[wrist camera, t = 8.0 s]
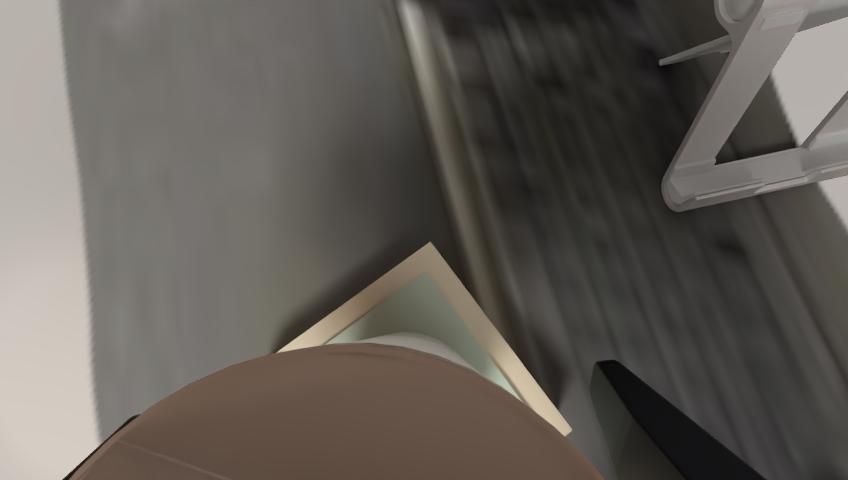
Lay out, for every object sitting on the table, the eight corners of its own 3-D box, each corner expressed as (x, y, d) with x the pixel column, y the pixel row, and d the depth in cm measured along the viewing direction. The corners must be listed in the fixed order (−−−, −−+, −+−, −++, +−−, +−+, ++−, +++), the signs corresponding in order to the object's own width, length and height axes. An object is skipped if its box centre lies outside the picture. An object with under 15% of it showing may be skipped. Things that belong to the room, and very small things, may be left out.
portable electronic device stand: (668, 217, 20) (842, 138, 11) (617, 70, 21) (737, -92, 13) (840, 179, 20) (1131, 76, 12) (777, 37, 21) (994, -141, 13)
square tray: (382, 561, 17) (375, 595, 14) (263, 371, 18) (241, 376, 16) (556, 418, 18) (574, 431, 16) (430, 250, 19) (430, 240, 17)
